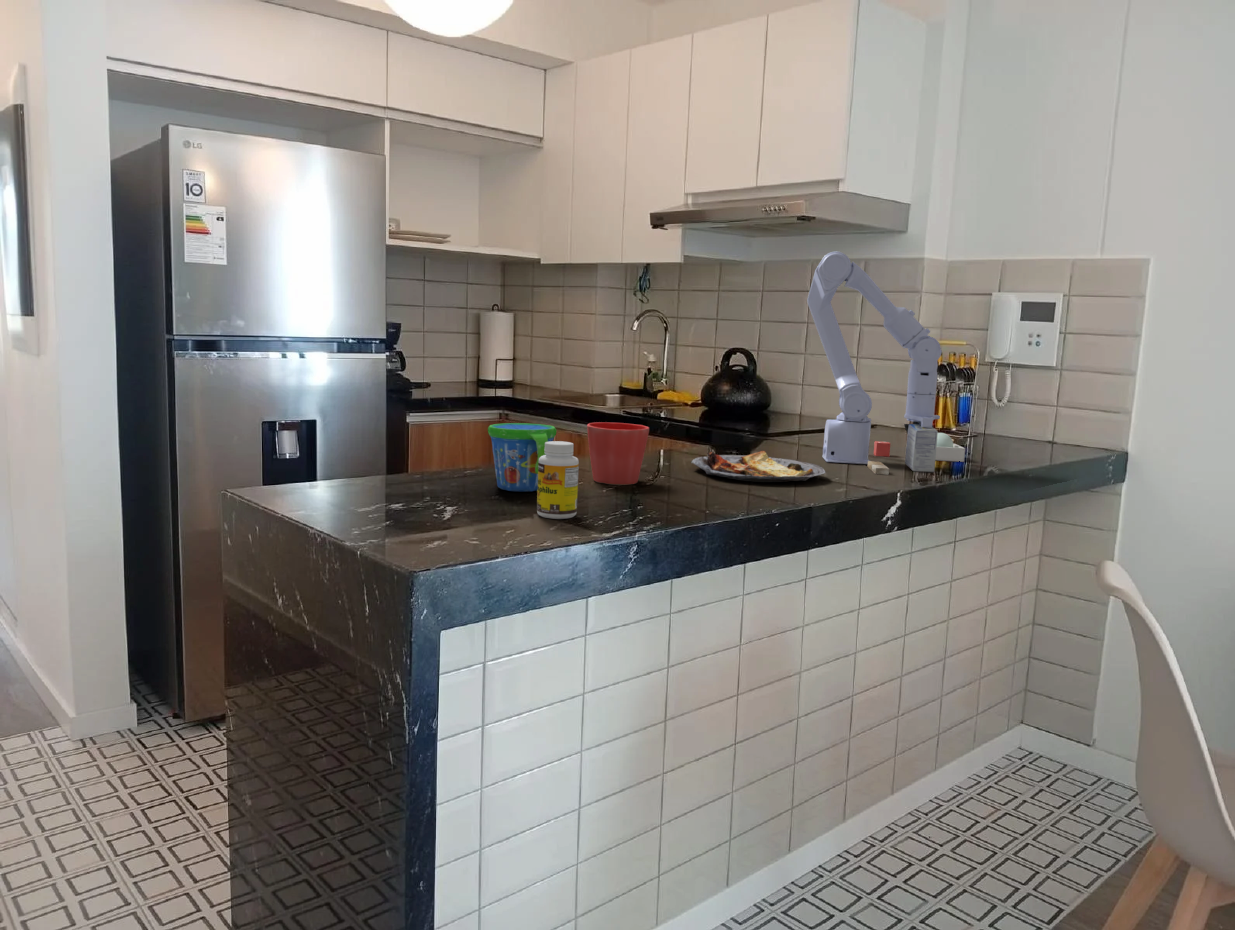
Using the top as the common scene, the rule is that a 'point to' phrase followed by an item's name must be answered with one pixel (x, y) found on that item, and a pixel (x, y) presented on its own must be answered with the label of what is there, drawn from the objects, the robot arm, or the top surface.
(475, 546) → the top surface
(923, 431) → the medicine box
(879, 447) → the red die
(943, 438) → the pale green ball
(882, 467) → the game track
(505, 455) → the snack cup
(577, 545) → the top surface
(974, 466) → the top surface
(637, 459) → the flower pot
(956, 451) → the white square frame
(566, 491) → the supplement bottle
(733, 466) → the food plate
